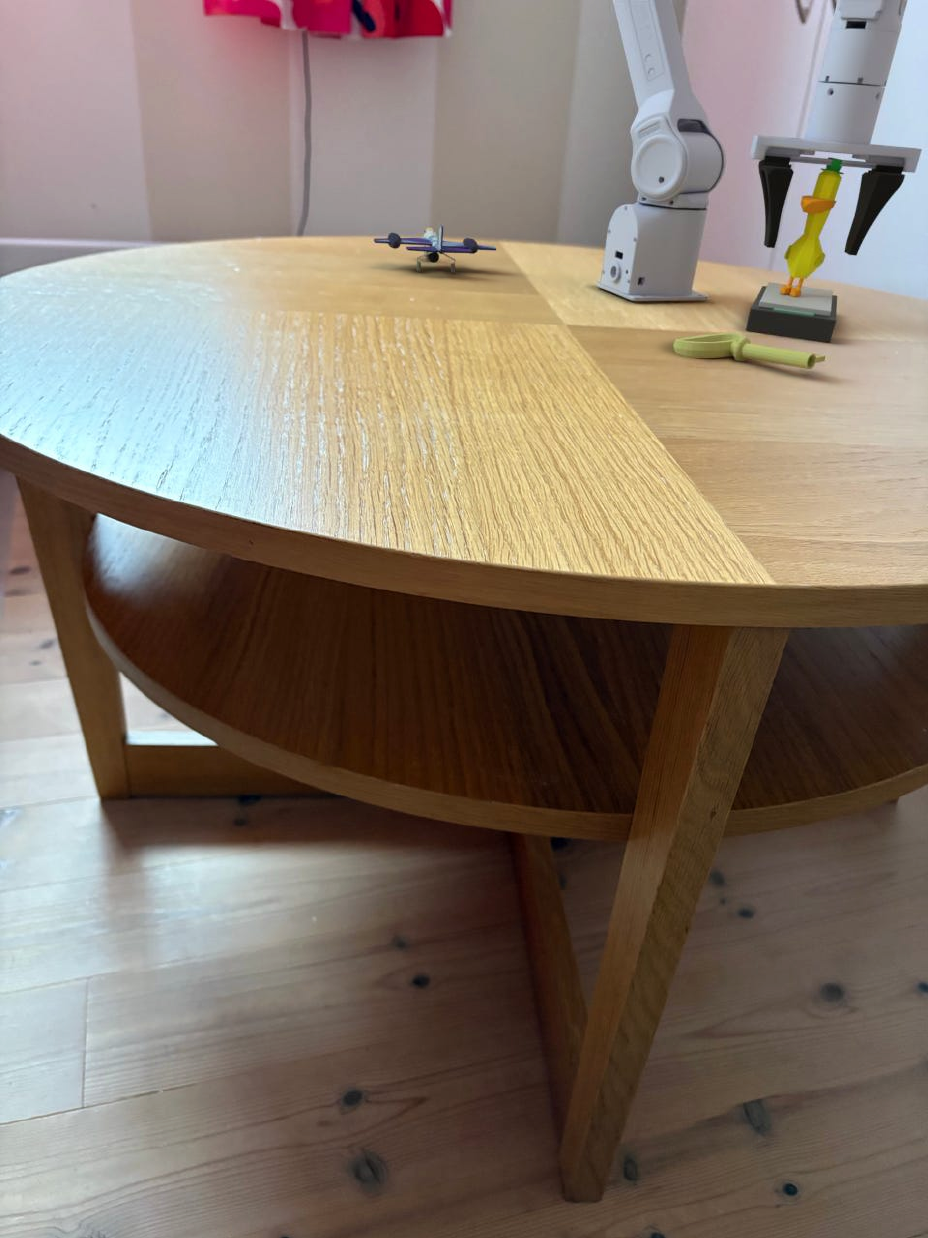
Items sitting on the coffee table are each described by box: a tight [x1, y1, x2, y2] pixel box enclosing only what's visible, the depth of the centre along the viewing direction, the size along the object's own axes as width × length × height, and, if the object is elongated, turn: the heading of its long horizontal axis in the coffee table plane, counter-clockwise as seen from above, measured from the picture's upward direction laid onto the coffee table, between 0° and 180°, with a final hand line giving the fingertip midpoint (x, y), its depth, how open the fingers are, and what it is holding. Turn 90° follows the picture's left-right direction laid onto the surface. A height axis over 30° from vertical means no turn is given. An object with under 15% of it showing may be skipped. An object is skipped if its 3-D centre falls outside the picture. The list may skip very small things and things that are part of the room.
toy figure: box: [780, 157, 845, 297], centre depth 84 cm, size 7×4×12 cm, turn 141°
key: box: [672, 332, 826, 370], centre depth 73 cm, size 7×12×2 cm, turn 56°
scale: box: [745, 281, 838, 343], centre depth 87 cm, size 14×8×2 cm, turn 159°
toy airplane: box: [373, 224, 497, 274], centre depth 100 cm, size 13×14×4 cm
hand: (809, 250), depth 85 cm, fingers open, 7 cm apart
